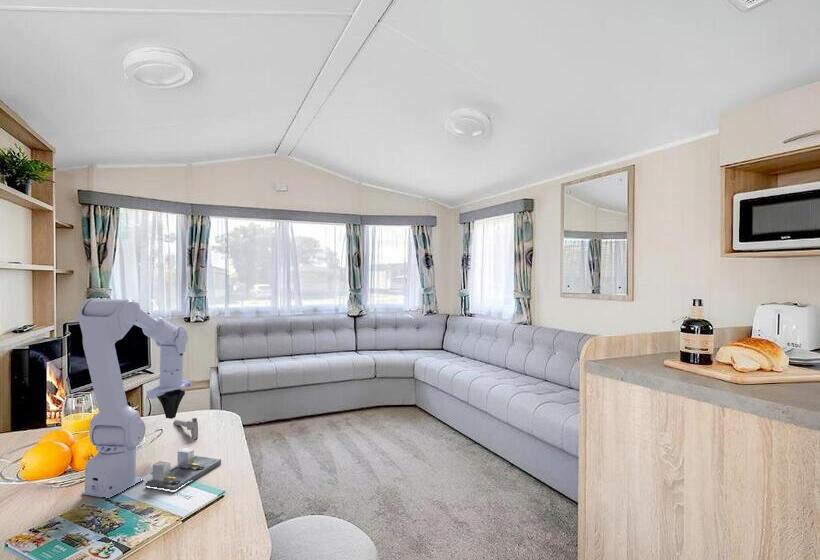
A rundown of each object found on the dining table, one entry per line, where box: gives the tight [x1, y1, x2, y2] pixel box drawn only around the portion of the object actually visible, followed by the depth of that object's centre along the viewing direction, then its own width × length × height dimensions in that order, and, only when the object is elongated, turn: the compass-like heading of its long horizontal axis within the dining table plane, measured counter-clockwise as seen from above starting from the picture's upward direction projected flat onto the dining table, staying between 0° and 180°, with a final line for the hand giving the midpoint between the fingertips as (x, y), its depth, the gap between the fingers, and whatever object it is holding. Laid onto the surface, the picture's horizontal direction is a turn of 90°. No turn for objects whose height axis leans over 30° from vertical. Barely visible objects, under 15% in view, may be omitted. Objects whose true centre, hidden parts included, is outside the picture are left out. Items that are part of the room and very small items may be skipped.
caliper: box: [173, 417, 199, 440], centre depth 138 cm, size 20×1×6 cm, turn 45°
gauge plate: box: [144, 455, 222, 490], centre depth 107 cm, size 16×8×5 cm, turn 166°
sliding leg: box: [177, 447, 200, 469], centre depth 109 cm, size 2×5×4 cm, turn 76°
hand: (170, 417), depth 122 cm, fingers closed
